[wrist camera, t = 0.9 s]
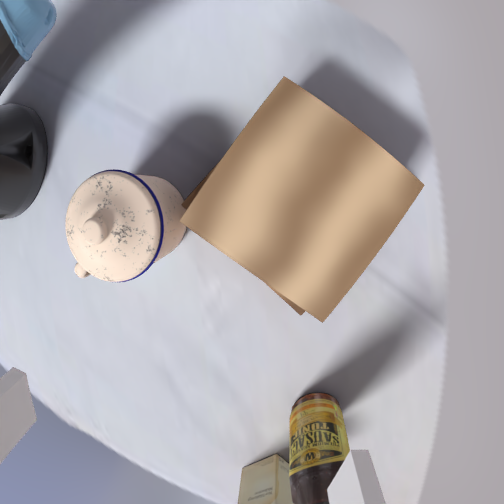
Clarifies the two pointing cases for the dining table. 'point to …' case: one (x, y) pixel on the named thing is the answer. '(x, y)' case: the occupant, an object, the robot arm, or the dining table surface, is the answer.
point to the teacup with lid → (123, 224)
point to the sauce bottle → (315, 447)
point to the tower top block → (303, 199)
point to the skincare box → (266, 482)
